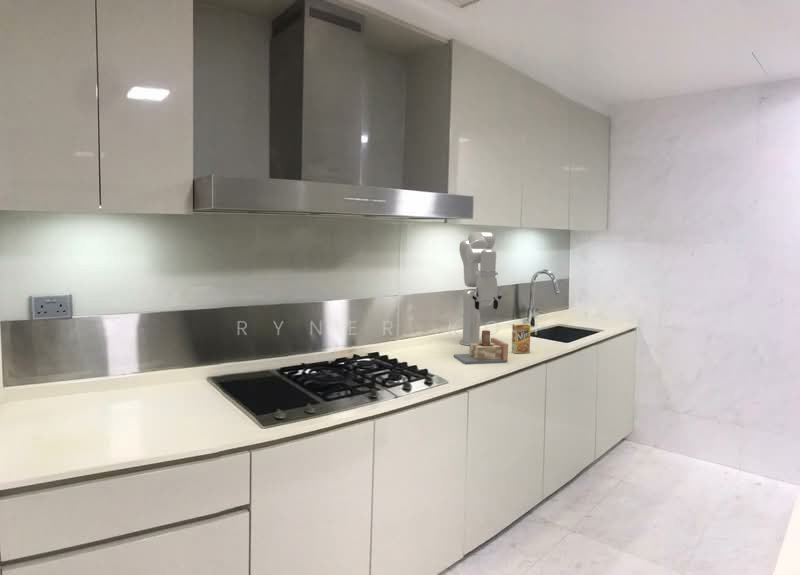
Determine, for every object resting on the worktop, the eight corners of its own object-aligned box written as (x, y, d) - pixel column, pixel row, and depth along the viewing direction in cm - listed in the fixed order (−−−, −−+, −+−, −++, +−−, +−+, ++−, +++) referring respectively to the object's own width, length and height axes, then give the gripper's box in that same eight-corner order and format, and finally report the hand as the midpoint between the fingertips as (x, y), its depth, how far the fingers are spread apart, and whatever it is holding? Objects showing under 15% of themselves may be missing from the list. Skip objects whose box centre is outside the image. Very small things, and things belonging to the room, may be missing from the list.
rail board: (453, 356, 255) (454, 338, 255) (493, 355, 261) (494, 337, 260) (464, 364, 240) (465, 345, 239) (507, 362, 245) (508, 343, 244)
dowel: (480, 354, 252) (480, 330, 251) (487, 353, 253) (488, 330, 252) (483, 355, 248) (483, 331, 247) (490, 355, 249) (491, 331, 248)
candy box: (515, 353, 265) (516, 325, 264) (511, 352, 269) (512, 323, 268) (529, 353, 268) (531, 324, 266) (525, 351, 272) (526, 323, 270)
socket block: (469, 354, 255) (469, 343, 255) (491, 353, 258) (491, 342, 257) (478, 360, 244) (478, 347, 243) (501, 359, 246) (501, 347, 246)
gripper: (500, 274, 255) (499, 307, 257) (468, 274, 251) (467, 308, 253) (507, 275, 248) (505, 309, 250) (473, 275, 244) (472, 310, 246)
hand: (486, 308), depth 251 cm, fingers open, 9 cm apart
